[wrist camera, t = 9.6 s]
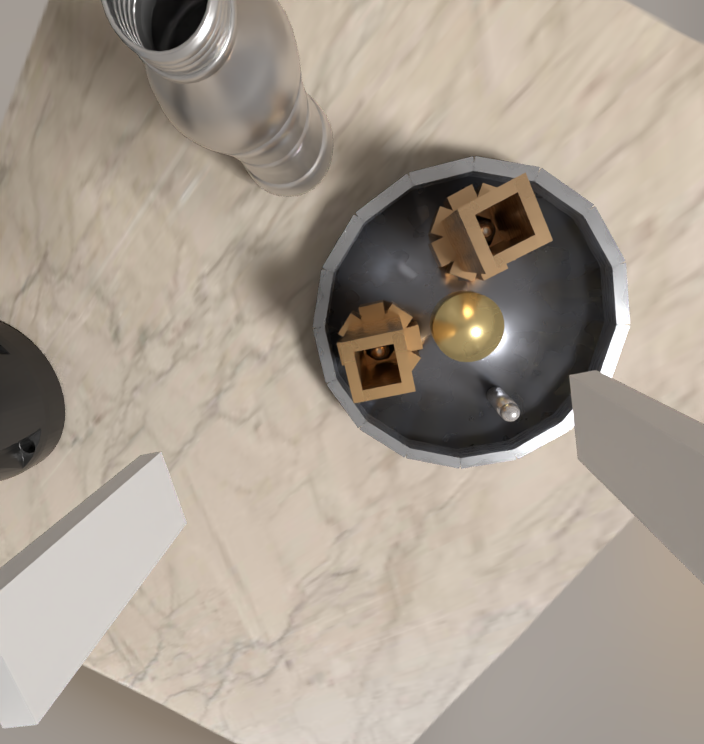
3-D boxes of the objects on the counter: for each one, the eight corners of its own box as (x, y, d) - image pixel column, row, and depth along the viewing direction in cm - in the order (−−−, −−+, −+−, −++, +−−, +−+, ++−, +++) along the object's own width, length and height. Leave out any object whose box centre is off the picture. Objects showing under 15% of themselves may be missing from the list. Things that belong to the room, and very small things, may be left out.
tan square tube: (450, 292, 32) (474, 303, 24) (415, 217, 31) (426, 199, 22) (528, 254, 31) (583, 250, 23) (494, 173, 30) (539, 137, 21)
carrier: (351, 472, 38) (345, 509, 32) (287, 207, 33) (266, 195, 27) (620, 427, 35) (666, 459, 29) (597, 129, 30) (647, 97, 24)
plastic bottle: (240, 180, 33) (29, 59, 13) (272, 88, 31) (83, -204, 12) (316, 216, 33) (217, 149, 14) (352, 127, 31) (297, -95, 12)
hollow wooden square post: (350, 384, 35) (339, 425, 26) (333, 310, 33) (314, 327, 25) (425, 369, 34) (439, 406, 25) (410, 293, 33) (419, 304, 24)
